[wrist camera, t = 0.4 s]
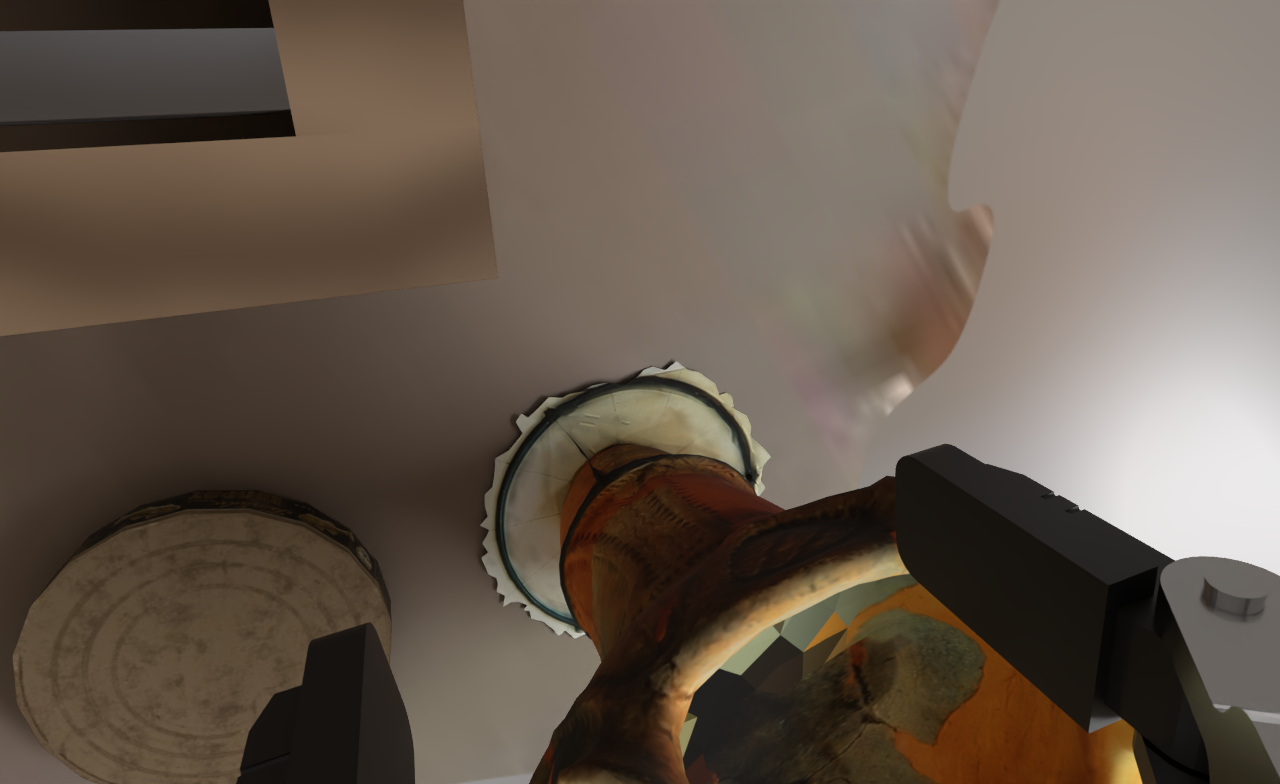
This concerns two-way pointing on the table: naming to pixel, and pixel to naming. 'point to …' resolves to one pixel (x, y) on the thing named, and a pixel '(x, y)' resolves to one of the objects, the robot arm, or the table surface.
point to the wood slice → (187, 632)
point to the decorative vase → (749, 615)
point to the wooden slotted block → (244, 165)
